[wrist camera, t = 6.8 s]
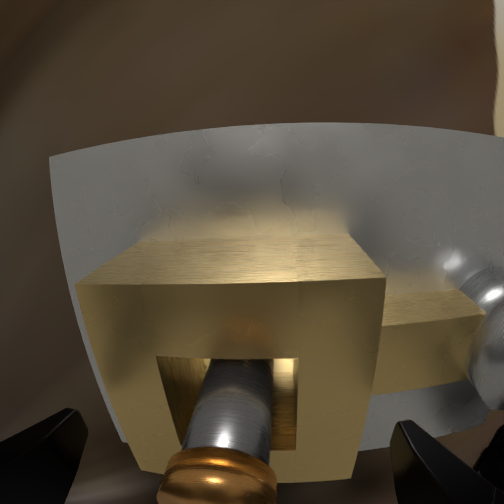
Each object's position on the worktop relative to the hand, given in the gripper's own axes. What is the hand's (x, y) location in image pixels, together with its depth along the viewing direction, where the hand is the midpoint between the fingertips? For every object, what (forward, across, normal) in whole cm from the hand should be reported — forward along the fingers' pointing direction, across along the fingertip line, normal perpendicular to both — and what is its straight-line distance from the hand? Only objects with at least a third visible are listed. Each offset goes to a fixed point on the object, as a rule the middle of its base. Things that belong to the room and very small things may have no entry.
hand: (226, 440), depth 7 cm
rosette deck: (+7, -3, 0) cm, 8 cm away
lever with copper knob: (+6, 0, 0) cm, 6 cm away
